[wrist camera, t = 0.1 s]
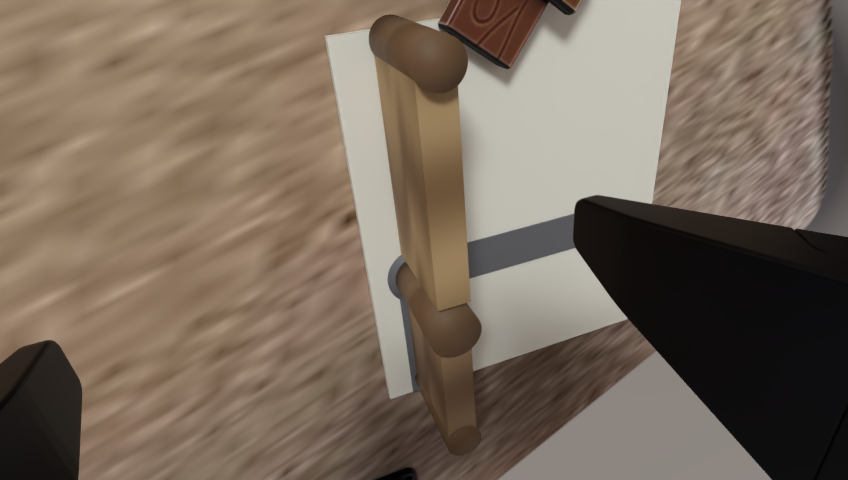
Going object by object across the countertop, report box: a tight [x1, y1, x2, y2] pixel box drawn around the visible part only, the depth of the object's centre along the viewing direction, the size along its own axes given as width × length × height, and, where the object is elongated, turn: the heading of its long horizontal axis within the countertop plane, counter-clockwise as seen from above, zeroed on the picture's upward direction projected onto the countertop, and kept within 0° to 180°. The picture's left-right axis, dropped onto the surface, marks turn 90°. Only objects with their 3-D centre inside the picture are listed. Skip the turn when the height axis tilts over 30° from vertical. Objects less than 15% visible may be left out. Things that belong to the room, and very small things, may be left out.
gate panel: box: [369, 15, 471, 311], centre depth 21 cm, size 11×2×6 cm, turn 6°
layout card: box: [325, 0, 681, 399], centre depth 28 cm, size 20×17×1 cm
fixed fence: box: [396, 261, 482, 455], centre depth 27 cm, size 9×2×5 cm, turn 6°
